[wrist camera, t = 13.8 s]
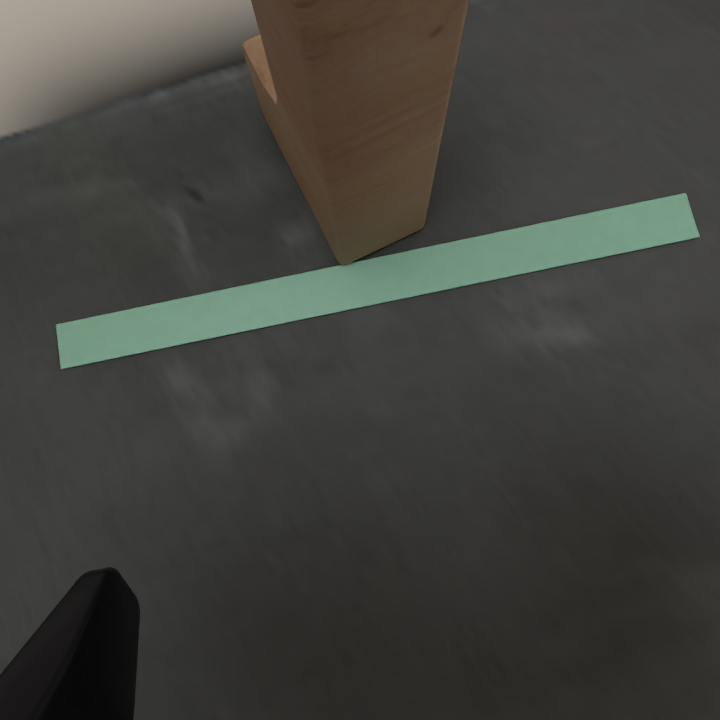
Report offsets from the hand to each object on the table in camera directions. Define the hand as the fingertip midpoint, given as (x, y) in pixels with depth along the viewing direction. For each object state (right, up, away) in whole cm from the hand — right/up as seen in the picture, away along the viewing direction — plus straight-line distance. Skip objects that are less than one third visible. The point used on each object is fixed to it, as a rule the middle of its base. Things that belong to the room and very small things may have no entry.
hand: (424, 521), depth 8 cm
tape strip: (-1, +5, +12) cm, 13 cm away
